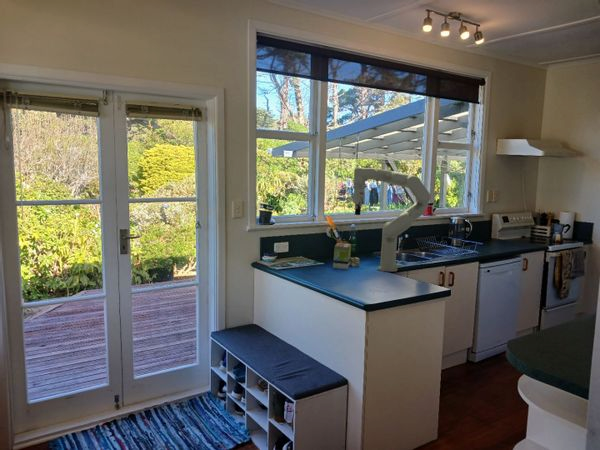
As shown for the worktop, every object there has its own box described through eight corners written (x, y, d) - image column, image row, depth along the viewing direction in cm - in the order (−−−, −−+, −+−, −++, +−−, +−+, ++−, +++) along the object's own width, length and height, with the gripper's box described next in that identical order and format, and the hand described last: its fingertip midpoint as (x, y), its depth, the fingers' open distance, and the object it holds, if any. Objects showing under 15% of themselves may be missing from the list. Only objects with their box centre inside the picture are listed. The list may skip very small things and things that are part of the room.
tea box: (348, 269, 292) (349, 247, 291) (332, 268, 294) (333, 245, 293) (350, 264, 307) (351, 243, 305) (335, 263, 309) (336, 242, 307)
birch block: (356, 264, 309) (356, 257, 308) (359, 266, 304) (359, 258, 303) (349, 264, 308) (350, 257, 307) (352, 266, 303) (352, 258, 302)
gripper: (368, 187, 287) (367, 216, 289) (360, 186, 301) (359, 213, 303) (357, 187, 285) (356, 216, 287) (349, 185, 299) (348, 213, 302)
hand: (357, 214), depth 295 cm, fingers closed
